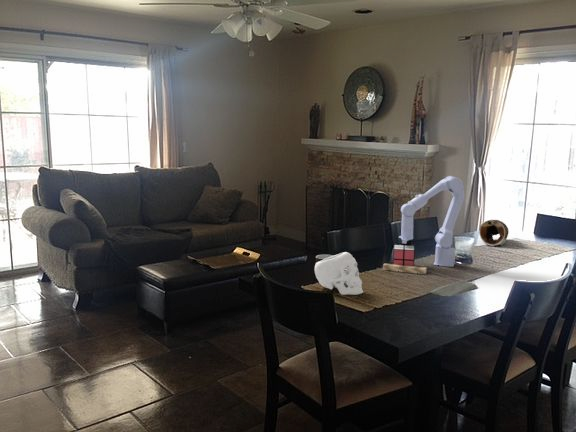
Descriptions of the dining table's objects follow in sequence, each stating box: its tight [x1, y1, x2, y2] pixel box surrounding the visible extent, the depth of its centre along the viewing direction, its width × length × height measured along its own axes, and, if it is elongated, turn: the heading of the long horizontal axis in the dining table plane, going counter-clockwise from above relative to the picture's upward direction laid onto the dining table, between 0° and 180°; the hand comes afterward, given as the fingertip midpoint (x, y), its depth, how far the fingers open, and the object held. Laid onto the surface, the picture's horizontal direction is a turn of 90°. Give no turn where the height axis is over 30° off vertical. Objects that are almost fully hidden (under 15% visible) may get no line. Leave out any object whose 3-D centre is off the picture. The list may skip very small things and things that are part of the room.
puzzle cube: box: [392, 244, 416, 266], centre depth 253 cm, size 10×10×10 cm
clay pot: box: [478, 219, 510, 247], centre depth 308 cm, size 15×15×25 cm
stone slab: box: [429, 280, 478, 297], centre depth 218 cm, size 22×3×10 cm
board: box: [382, 263, 427, 275], centre depth 246 cm, size 20×3×2 cm, turn 67°
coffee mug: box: [315, 254, 334, 264], centre depth 235 cm, size 12×9×10 cm
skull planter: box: [314, 251, 364, 296], centre depth 217 cm, size 14×20×19 cm
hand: (406, 254), depth 259 cm, fingers closed, pressing on puzzle cube
